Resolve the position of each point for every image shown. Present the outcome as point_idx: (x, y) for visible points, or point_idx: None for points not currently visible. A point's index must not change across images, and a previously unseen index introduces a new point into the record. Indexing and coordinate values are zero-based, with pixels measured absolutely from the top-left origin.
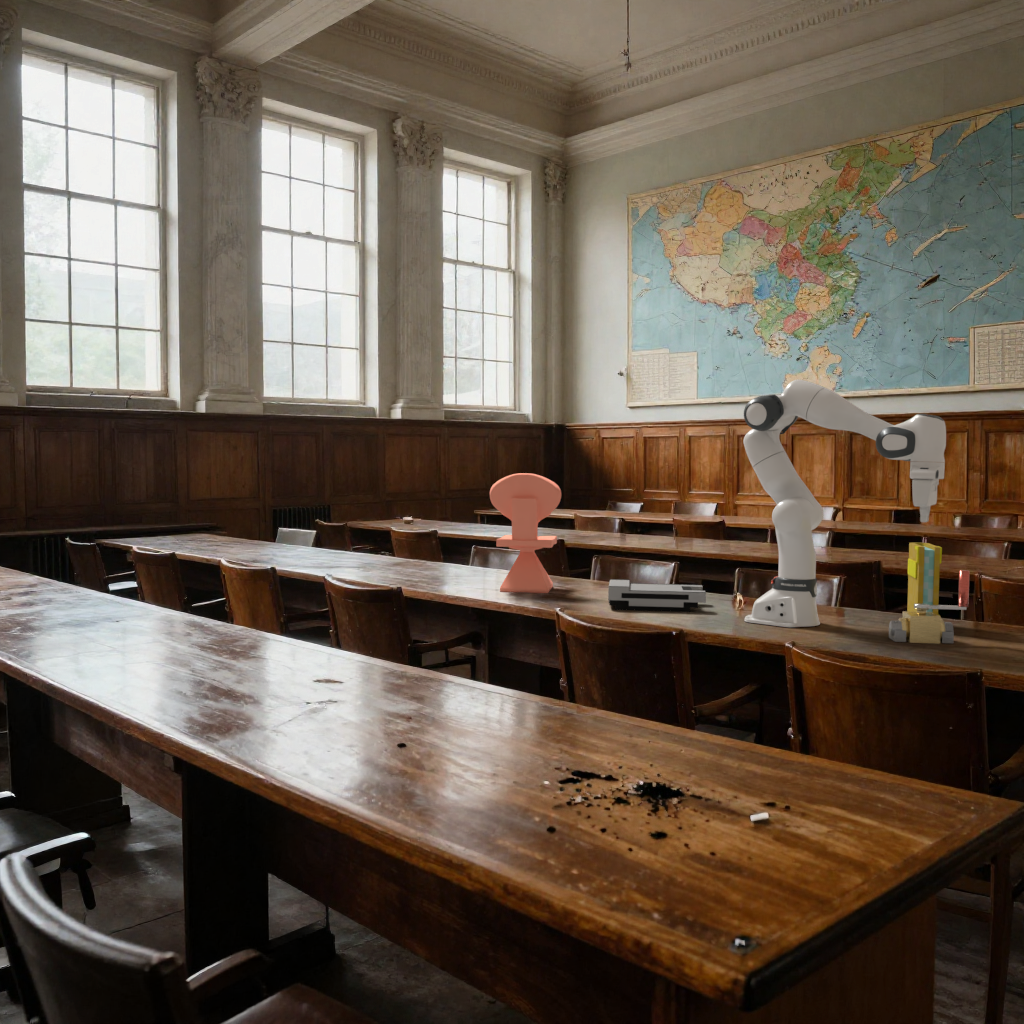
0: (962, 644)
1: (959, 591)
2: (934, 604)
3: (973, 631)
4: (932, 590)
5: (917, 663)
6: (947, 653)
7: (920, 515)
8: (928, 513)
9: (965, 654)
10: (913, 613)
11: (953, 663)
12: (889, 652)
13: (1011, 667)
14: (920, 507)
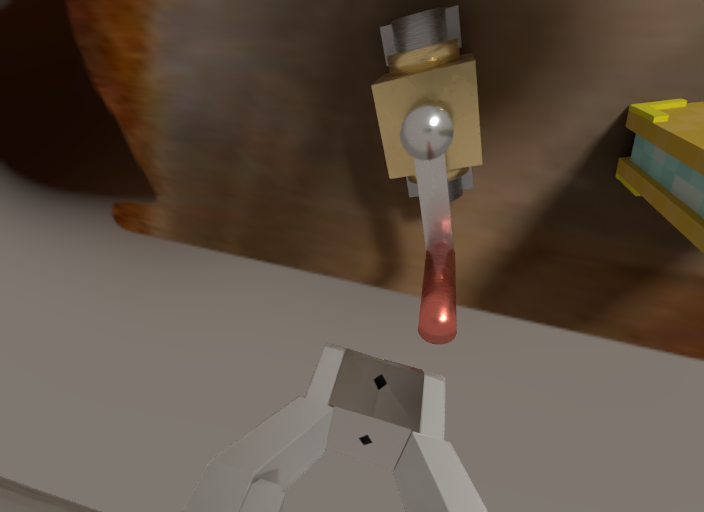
0: (407, 203)
1: (432, 269)
2: (655, 193)
3: (623, 262)
4: (695, 208)
5: (129, 78)
6: (276, 155)
7: (298, 397)
8: (404, 502)
9: (283, 190)
10: (430, 99)
11: (176, 153)
12: (214, 9)
13: (203, 243)
14: (188, 504)
